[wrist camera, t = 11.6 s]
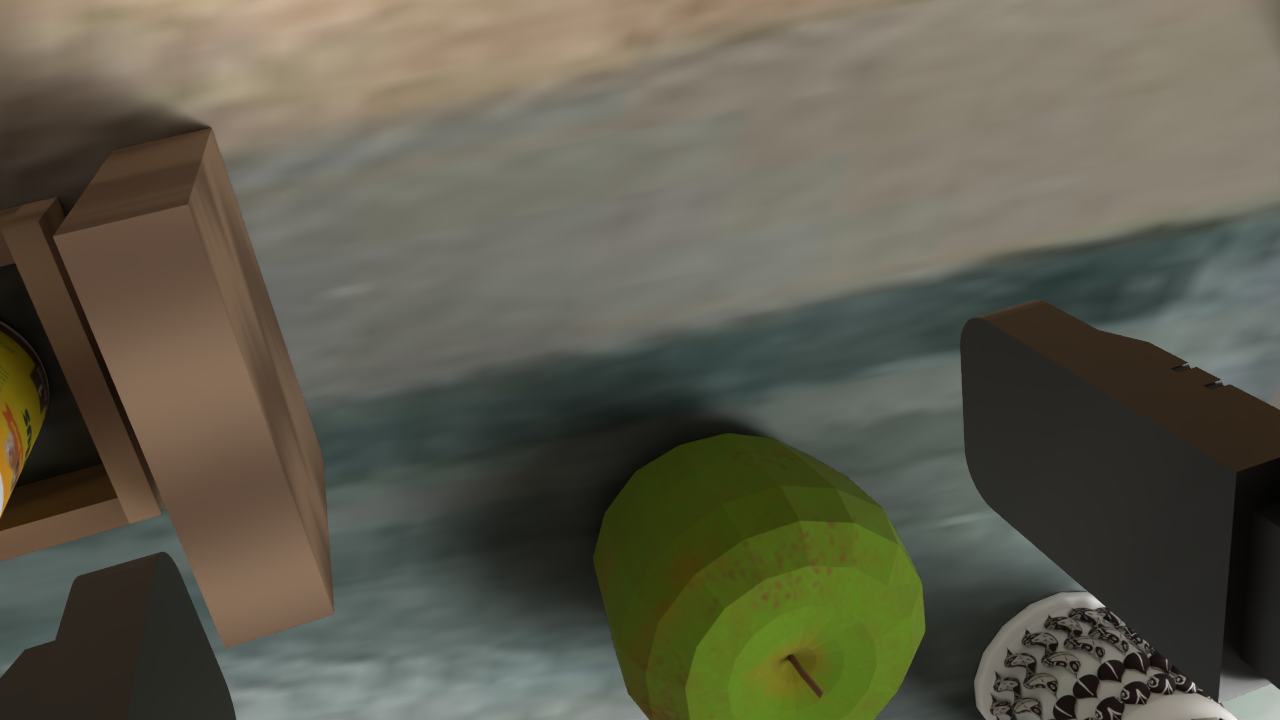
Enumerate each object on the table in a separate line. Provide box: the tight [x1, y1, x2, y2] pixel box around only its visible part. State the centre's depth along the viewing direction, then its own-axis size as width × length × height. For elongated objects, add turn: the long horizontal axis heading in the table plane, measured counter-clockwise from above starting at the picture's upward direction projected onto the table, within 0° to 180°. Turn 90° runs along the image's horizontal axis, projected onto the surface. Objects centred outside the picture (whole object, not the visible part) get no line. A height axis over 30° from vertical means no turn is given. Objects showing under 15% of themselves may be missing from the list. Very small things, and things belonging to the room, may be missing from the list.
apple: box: [593, 433, 926, 720], centre depth 41 cm, size 11×11×11 cm
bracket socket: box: [0, 128, 334, 648], centre depth 31 cm, size 12×15×10 cm
